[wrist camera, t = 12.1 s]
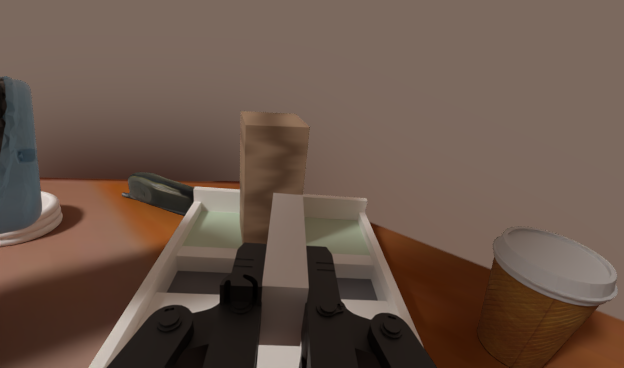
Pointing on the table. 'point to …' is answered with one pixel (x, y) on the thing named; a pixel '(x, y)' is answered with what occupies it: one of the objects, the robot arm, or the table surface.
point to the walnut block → (269, 167)
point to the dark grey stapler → (160, 192)
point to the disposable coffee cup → (540, 295)
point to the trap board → (221, 255)
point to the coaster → (37, 223)
